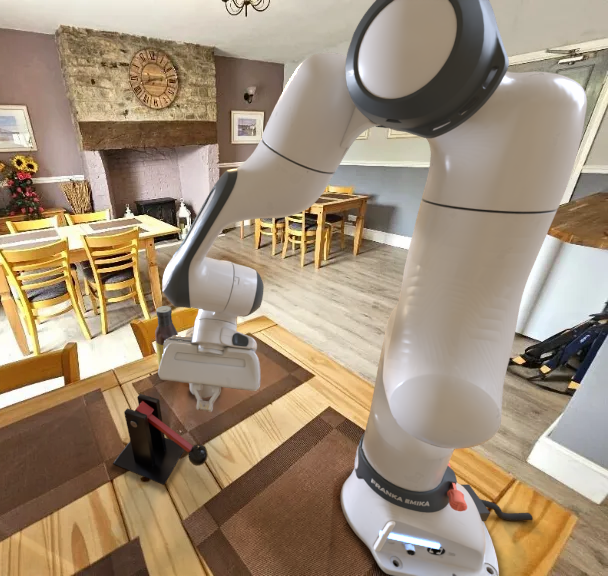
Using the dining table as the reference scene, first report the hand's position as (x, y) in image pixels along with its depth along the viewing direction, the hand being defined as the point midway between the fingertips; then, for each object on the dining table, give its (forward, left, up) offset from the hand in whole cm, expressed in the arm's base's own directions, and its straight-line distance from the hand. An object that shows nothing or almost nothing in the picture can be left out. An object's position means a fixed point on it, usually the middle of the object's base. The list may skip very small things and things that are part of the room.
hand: (204, 410), depth 59 cm
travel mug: (+9, -18, -14) cm, 24 cm away
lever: (+6, +4, -5) cm, 9 cm away
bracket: (+11, +4, -13) cm, 18 cm away
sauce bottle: (+22, -22, -14) cm, 34 cm away
